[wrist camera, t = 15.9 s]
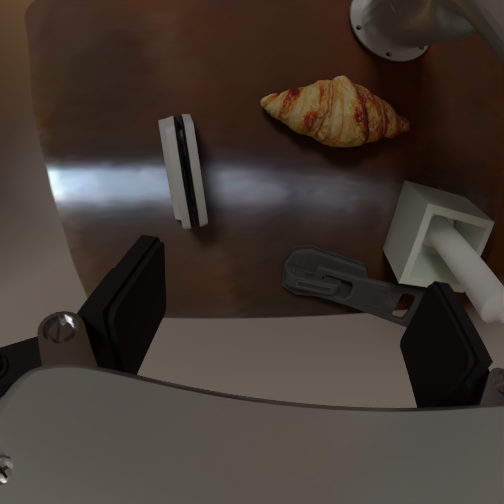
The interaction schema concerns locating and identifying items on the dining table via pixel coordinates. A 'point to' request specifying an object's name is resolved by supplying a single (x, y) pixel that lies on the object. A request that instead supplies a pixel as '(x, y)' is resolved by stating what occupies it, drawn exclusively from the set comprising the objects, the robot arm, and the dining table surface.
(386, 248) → the open square box
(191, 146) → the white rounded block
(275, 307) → the dining table surface
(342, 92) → the croissant
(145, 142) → the dining table surface
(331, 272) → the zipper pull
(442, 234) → the candle
